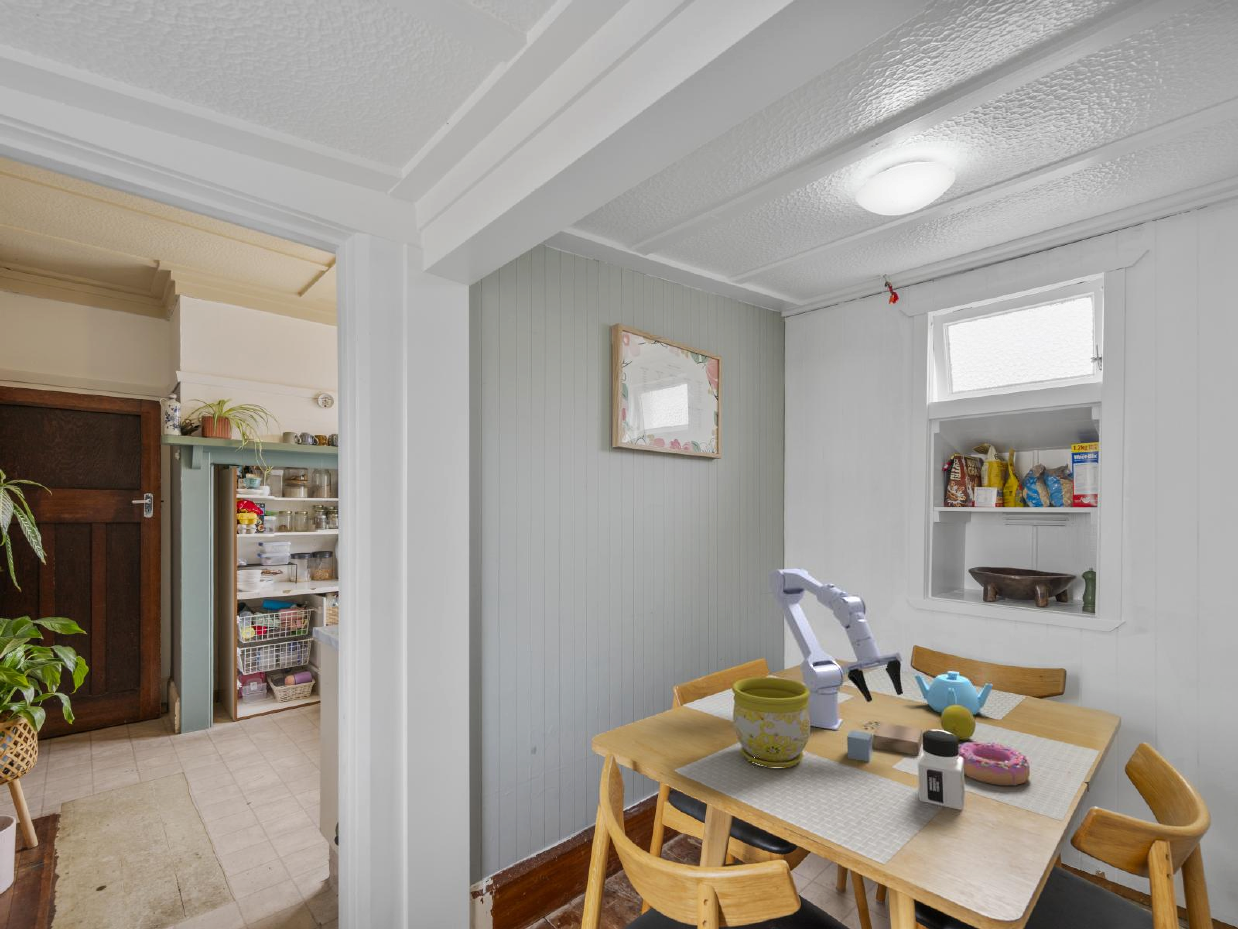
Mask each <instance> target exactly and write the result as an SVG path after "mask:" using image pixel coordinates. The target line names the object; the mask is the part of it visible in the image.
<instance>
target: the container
mask: <svg viewBox="0 0 1238 929" xmlns="http://www.w3.org/2000/svg"><path fill="white" fill-rule="evenodd" d="M958 745H959V740H958V738H957V737H956V736H955V735H953V734H951V733H949V732H947V731H944V730H943V729H942V730H941V729H929V730H928V729H927V730H925V731H924V732H922V750H921V753H920V755H919V756H920V757H919V759H918V762H917V774H918V775H917V776H918V778H917V779H918V799H919V801H920V802H923V803H927V804H932V805H936V806H941V807H946V808H948V809H949V808H950V809H955V810H957V811H962V810H963V807H964V803H965V802H964V800H965V795H966V793H965V792H966V791H965V790H966V789H965V788H966V787H965V774H964V759H963V758H962V757H959V749H958Z"/></svg>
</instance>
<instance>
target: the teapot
mask: <svg viewBox="0 0 1238 929" xmlns="http://www.w3.org/2000/svg"><path fill="white" fill-rule="evenodd" d="M914 678H915V680H916V683H917V685H918V687H919V690H920V692H921V695H922V697H923V698H924V700H926V702H927V704H928V705H929V707H930V708H931V709H932V710H933V711H935V712H937V713H939V712H940V714H942V713H943V711H944V710H945V709H946V708H947V707H949V706H952V705H960V706H963V707H965V708H966V709H968V710H969V711H970V712H971V714H972V715H974V716H976V715H977V714H978V713H979V712H980V711H981V709H982V708H984V706H985V704H986V701H987V699H988V697H989V695H990V693H991V691H992V688H993V684H992V683H985V685H984V687H983V688H982V690H981V691H980V692H979V693H978V691H977V689H976V688H975V687H974V685H973V684H972V682H971V681H970V680H969V678H967V677H965V676H961V675H960V671H954V670H948V671H946V673H945V674H939V675H937V676H936V677H934V679H933V680H932V682H931V684H930V685H929V686H928V684H927V682H926V681H925V679H924V678H923V676H922V675H921V674H915V675H914Z"/></svg>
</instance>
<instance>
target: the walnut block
mask: <svg viewBox="0 0 1238 929" xmlns="http://www.w3.org/2000/svg"><path fill="white" fill-rule="evenodd" d="M922 734H923V730H922V728H917V727H911V726H910V727H909V726H905V725H898V724H892V723H888V722H887V723H886V722H880V721H879V722H878V724H877V726H876V728H875V730H874V731H873V733H872V745H873V748H875V749H881V750H885V751H886V750H887V751H892V752H897V753H904V754H908V755H915V756H920V751H921V746H922V744H923V739H922Z"/></svg>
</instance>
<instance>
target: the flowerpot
mask: <svg viewBox="0 0 1238 929" xmlns="http://www.w3.org/2000/svg"><path fill="white" fill-rule="evenodd" d="M731 689H732V690H731V691H732V693H733V694H734V695H733V700H734V703H733V710H732V711H733V714H732V721H733V722H732V724H733V729H734V730H733V731H734V734H735V736H736V739H737V740H738V742H739V743H740V746H741V748H740V752H741V754H742V755H743V756H745V759H746V758H747V759H748V760H750V761H752V762H754V763H757V764H760V765H763V766H766V767H789V768H792V767H791V766H793V767H795V766H796V765H798V764H799V762H800V761H801V760H802V759H803V758H804V753H803V750H804V749H805V747H806V746H807V745H808V741H809V739H810V734H811V726H810V715H809V709H808V705H809V701H808V698H809V696H810V690H809V688H808V687H806V685H805V684H803V683H801V682H798V681H796V680H791V679H789V678H788V679H787V678H782V677H781V678H780V677H771V676H756V677H755V676H754V677H746V678H743V679H739V680H737V681H735V682H734V683H733V684H732V686H731ZM754 757H755V758H754ZM747 759H746V760H747ZM748 760H747V761H748ZM797 763H798V764H797ZM794 765H795V766H794Z"/></svg>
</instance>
